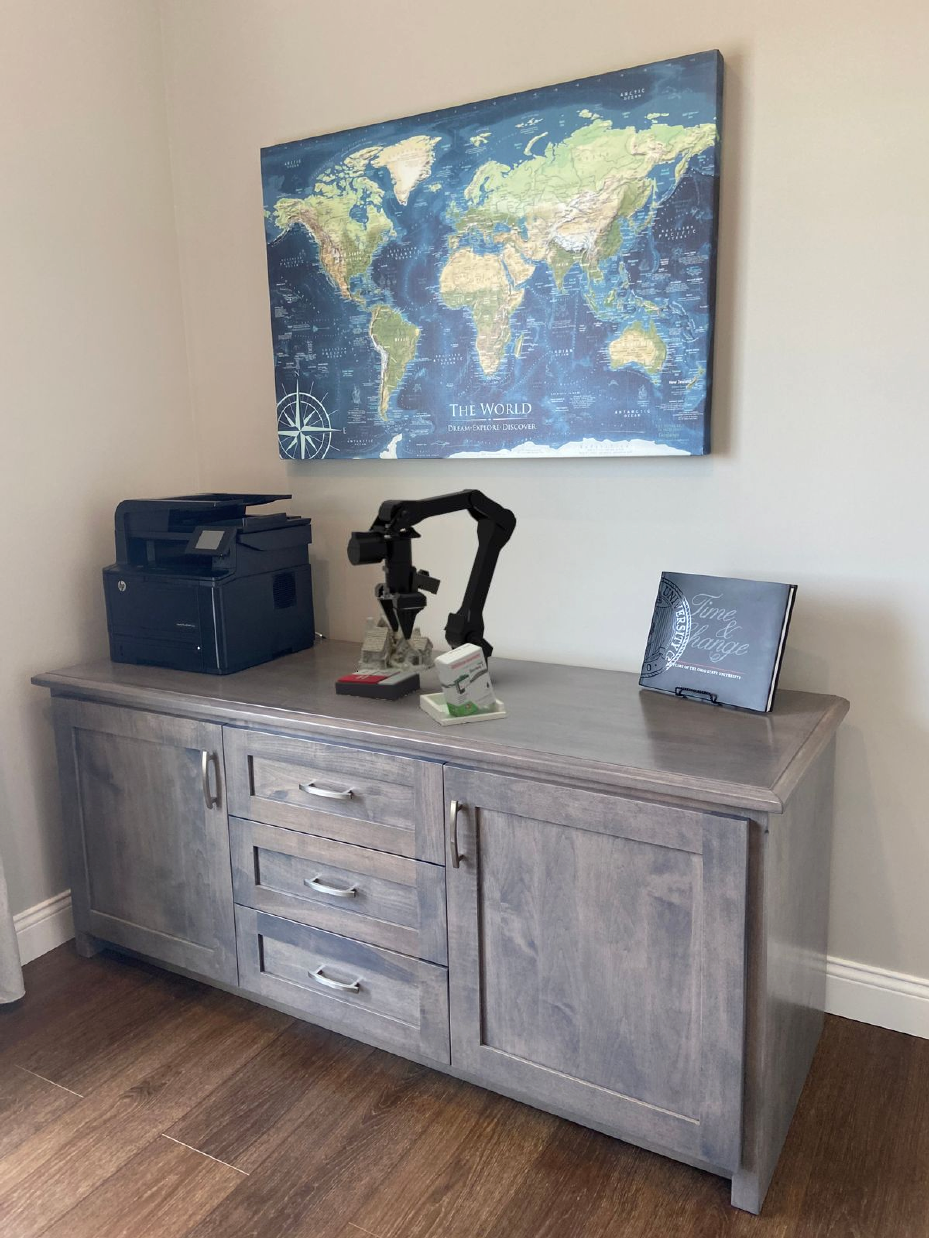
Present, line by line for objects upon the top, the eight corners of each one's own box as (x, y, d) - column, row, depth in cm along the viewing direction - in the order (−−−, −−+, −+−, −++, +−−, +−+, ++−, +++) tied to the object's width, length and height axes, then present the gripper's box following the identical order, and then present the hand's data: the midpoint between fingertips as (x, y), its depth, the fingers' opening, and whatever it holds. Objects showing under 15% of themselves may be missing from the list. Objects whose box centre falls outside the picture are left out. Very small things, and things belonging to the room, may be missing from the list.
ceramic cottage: (347, 671, 220) (348, 608, 217) (390, 659, 233) (391, 600, 230) (399, 683, 211) (402, 618, 208) (441, 670, 225) (443, 609, 222)
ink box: (461, 719, 178) (445, 664, 174) (448, 713, 182) (432, 659, 178) (497, 700, 182) (482, 645, 178) (483, 695, 186) (468, 641, 182)
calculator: (362, 667, 209) (419, 670, 202) (363, 686, 210) (421, 689, 203) (333, 679, 200) (393, 681, 193) (335, 698, 200) (395, 702, 194)
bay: (480, 699, 192) (480, 687, 192) (506, 717, 180) (506, 705, 179) (420, 707, 188) (419, 695, 188) (442, 726, 175) (441, 713, 175)
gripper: (450, 563, 186) (452, 640, 189) (422, 554, 203) (424, 624, 206) (396, 567, 182) (399, 645, 185) (372, 557, 200) (375, 629, 203)
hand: (401, 635), depth 195 cm, fingers open, 9 cm apart
